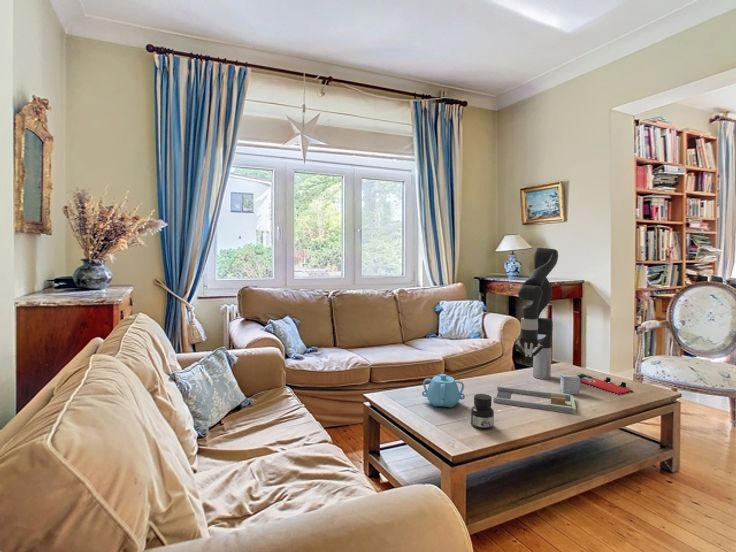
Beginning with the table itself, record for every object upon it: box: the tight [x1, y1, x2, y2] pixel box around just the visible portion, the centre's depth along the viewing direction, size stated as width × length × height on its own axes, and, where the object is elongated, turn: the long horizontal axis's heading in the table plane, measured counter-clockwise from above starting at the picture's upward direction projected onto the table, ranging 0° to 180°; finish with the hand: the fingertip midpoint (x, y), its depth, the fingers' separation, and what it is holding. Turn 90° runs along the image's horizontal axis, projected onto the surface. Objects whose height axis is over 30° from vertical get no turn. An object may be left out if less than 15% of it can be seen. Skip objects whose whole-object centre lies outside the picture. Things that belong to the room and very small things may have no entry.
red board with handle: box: [576, 373, 634, 396], centre depth 221 cm, size 30×3×15 cm
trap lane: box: [493, 385, 577, 415], centre depth 196 cm, size 19×34×2 cm, turn 67°
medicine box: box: [559, 374, 581, 395], centre depth 207 cm, size 8×4×9 cm, turn 84°
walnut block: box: [550, 393, 566, 406], centre depth 192 cm, size 6×6×4 cm
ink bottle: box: [470, 393, 495, 431], centre depth 168 cm, size 10×9×12 cm
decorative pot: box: [421, 373, 466, 408], centre depth 192 cm, size 16×16×14 cm
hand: (528, 363), depth 196 cm, fingers closed
